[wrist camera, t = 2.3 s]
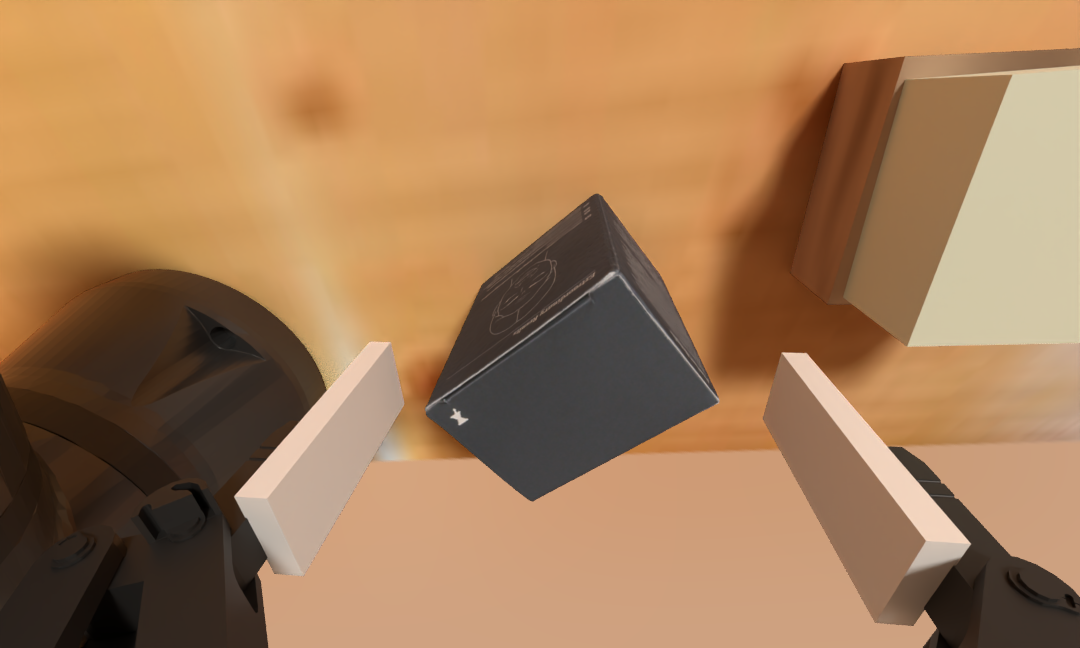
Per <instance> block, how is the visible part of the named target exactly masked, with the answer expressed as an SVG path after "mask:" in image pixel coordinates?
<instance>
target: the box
mask: <svg viewBox="0 0 1080 648" xmlns="http://www.w3.org/2000/svg"><path fill="white" fill-rule="evenodd" d="M718 403H719V398H718V396H717V393H716V391H715V389H714V387H713V385H712V383H711V381H710V379H709V377H708V374H707V372H706V370H705V368H704V366H703V364H702V362H701V359H700V358H699V356H698V353H697V351H696V349H695V347H694V345H693V342H692V340H691V338H690V336H689V334H688V332H687V330H686V328H685V326H684V324H683V322H682V319H681V317H680V316H679V313H678V311H677V309H676V307H675V305H674V303H673V301H672V298H671V297H670V295H669V292H668V290H667V288H666V286H665V284H664V281H663V280H662V278H661V276H660V274H659V273H658V271H657V270H656V269H655V267H654V266H653V265H652V264H651V262H650V260H649V259H648V258H647V257H646V255H645V254H644V253H643V252H642V250H641V249H640V247H639V246H638V245H637V243H636V242H635V241H634V239H633V238H632V237H631V235H630V234H629V233H628V231H627V230H626V228H625V227H624V226H623V224H622V223H621V222H620V220H619V219H618V218H617V216H616V215H615V214H614V212H613V211H612V210H611V208H610V207H609V205H608V204H607V203H606V201H605V200H604V199H603V197H602V196H601V195H599V194H594V195H593V196H591V197H590V198H589V199H587V200H586V201H585V202H584V203H582V204H581V205H580V206H578V207H577V208H576V209H575V210H574V211H572V212H571V213H570V214H569V215H567V216H566V217H565V218H564V219H562V220H561V221H560V222H559V223H557V224H556V225H555V226H554V227H552V228H551V229H550V230H549V231H547V232H546V233H545V234H544V235H542V236H541V237H540V238H539V239H538V240H536V241H535V242H534V243H533V244H531V245H530V246H529V247H528V248H526V249H525V250H524V251H523V252H521V253H520V254H519V255H518V256H517V257H515V258H514V259H513V260H511V261H510V262H509V263H508V264H507V265H505V266H504V267H503V268H502V269H501V270H499V271H498V272H497V273H495V274H494V275H493V276H492V277H491V278H489V279H488V280H487V281H486V282H485V283H483V284H482V286H481V288H480V291H479V292H478V295H477V297H476V299H475V301H474V304H473V306H472V308H471V310H470V312H469V314H468V316H467V319H466V321H465V323H464V325H463V327H462V330H461V332H460V334H459V336H458V338H457V340H456V342H455V345H454V347H453V349H452V351H451V353H450V355H449V358H448V360H447V362H446V364H445V366H444V369H443V371H442V373H441V375H440V377H439V379H438V381H437V384H436V386H435V388H434V390H433V393H432V395H431V398H430V400H429V402H428V404H427V406H426V407H425V411H426V415H427V417H429V418H430V419H431V420H433V421H434V422H435V423H437V424H438V425H439V426H441V427H442V428H443V429H444V430H446V431H447V432H448V433H449V434H450V435H451V436H453V437H454V438H455V439H456V440H457V441H459V442H460V443H461V444H462V445H463V446H464V447H466V448H467V449H468V450H469V451H470V452H471V453H472V454H474V455H475V456H476V457H477V458H478V459H479V460H480V461H482V462H483V463H484V464H485V465H486V466H488V467H489V468H490V469H491V470H492V471H493V472H495V473H496V474H497V475H498V476H499V477H501V478H502V479H503V480H504V481H505V482H507V483H508V484H509V485H510V486H512V487H513V488H514V489H515V490H516V491H518V492H519V493H520V494H522V495H523V496H524V497H526V498H527V499H529V500H530V501H534V500H536V499H538V498H540V497H541V496H543V495H545V494H547V493H549V492H551V491H553V490H555V489H556V488H558V487H560V486H562V485H564V484H566V483H568V482H570V481H571V480H574V479H575V478H577V477H579V476H581V475H583V474H585V473H587V472H589V471H590V470H592V469H594V468H596V467H598V466H600V465H602V464H604V463H606V462H608V461H609V460H611V459H613V458H615V457H617V456H619V455H621V454H623V453H625V452H626V451H628V450H630V449H632V448H634V447H636V446H637V445H639V444H641V443H643V442H645V441H647V440H649V439H651V438H653V437H655V436H657V435H658V434H660V433H662V432H664V431H666V430H667V429H669V428H671V427H673V426H675V425H677V424H679V423H681V422H683V421H685V420H687V419H688V418H690V417H692V416H694V415H696V414H698V413H700V412H702V411H704V410H706V409H708V408H710V407H712V406H714V405H716V404H718Z"/></svg>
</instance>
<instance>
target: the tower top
mask: <svg viewBox="0 0 1080 648" xmlns="http://www.w3.org/2000/svg"><path fill="white" fill-rule="evenodd" d="M843 298H845V299H846V300H847V301H848V302H850V303H851V304H852V305H854V306H855V307H856V308H858V309H859V310H860V311H861V312H863V313H864V314H865V315H867V316H868V317H869V318H871V319H872V320H873V321H874V322H876V323H877V324H878V325H880V326H881V327H882V328H884V329H885V330H886V331H888V332H889V333H890V334H891V335H893V336H894V337H895V338H897V339H898V340H899V341H901V342H902V343H903V344H904V345H906V346H907V347H911V346H961V345H1012V344H1063V343H1080V65H1079V66H1066V67H1054V68H1042V69H1029V70H1017V71H1005V72H992V73H980V74H967V75H955V76H943V77H930V78H918V79H905V82H904V86H903V89H902V93H901V96H900V100H899V103H898V107H897V110H896V114H895V117H894V121H893V124H892V128H891V131H890V135H889V138H888V142H887V145H886V149H885V152H884V156H883V159H882V163H881V166H880V170H879V173H878V177H877V180H876V184H875V187H874V191H873V194H872V198H871V201H870V205H869V208H868V212H867V215H866V219H865V222H864V226H863V229H862V233H861V236H860V240H859V243H858V247H857V250H856V254H855V257H854V261H853V264H852V267H851V271H850V274H849V278H848V281H847V285H846V288H845V292H844V295H843Z"/></svg>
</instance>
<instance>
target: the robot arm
mask: <svg viewBox="0 0 1080 648" xmlns="http://www.w3.org/2000/svg"><path fill="white" fill-rule="evenodd" d="M403 406H404V400H403V395H402V391H401V386H400V382H399V377H398V373H397V368H396V364H395V359H394V355H393V350H392V346H391V342H369V343H368V344H367V346H366V347H365V348H364V349H363V350H362V351H361V352H360V353H359V355H358V356H357V357H356V358H355V359H354V360H353V361H352V363H351V364H350V365H349V366H348V367H347V368H346V369H345V371H344V372H343V373H342V374H341V375H340V376H339V377H338V379H337V380H336V381H335V382H334V383H333V384H332V385H331V387H330V388H329V389H328V390H327V391H326V389H325V386H324V382H323V380H322V377H321V374H320V372H319V370H318V368H317V366H316V364H315V362H314V360H313V359H312V357H311V356H310V354H309V353H308V351H307V350H306V348H305V347H304V346H303V344H302V343H301V342H300V341H299V339H298V338H297V337H296V336H295V335H294V334H293V333H292V332H291V330H290V329H289V328H288V327H287V326H286V325H285V324H283V323H282V322H281V321H280V320H279V319H278V318H277V317H276V316H274V315H273V314H272V313H271V312H269V311H268V310H267V309H266V308H264V307H263V306H261V305H260V304H259V303H257V302H255V301H254V300H252V299H251V298H249V297H248V296H246V295H244V294H242V293H241V292H239V291H237V290H235V289H233V288H231V287H229V286H226V285H224V284H222V283H220V282H217V281H214V280H212V279H209V278H206V277H203V276H199V275H196V274H192V273H187V272H182V271H175V270H162V269H156V270H143V271H138V272H133V273H130V274H126V275H124V276H121V277H119V278H116V279H114V280H111V281H109V282H106V283H104V284H101V285H99V286H96V287H94V288H92V289H89V290H87V291H85V292H84V293H82V294H80V295H78V296H77V297H75V298H74V299H72V300H71V301H70V302H68V303H67V304H66V305H65V306H64V307H63V308H62V309H61V310H59V311H58V312H57V313H56V314H55V315H54V316H53V317H51V318H50V319H49V320H48V321H47V322H46V323H45V324H44V325H43V326H41V327H40V328H39V329H38V330H37V331H36V332H35V333H34V334H33V335H31V336H30V337H29V338H28V339H27V340H26V341H25V342H24V343H22V344H21V345H20V346H19V347H18V348H17V349H16V350H15V351H14V352H12V353H11V354H10V355H9V356H8V357H7V358H6V359H5V360H3V361H2V362H1V363H0V648H268V641H267V632H266V624H265V614H264V607H263V597H262V589H261V581H260V579H259V577H258V575H257V572H258V571H259V569H260V568H261V567H262V565H263V564H264V562H265V560H266V559H267V560H268V562H269V564H270V566H271V568H272V570H273V572H274V574H285V575H297V576H304V575H305V573H306V571H307V570H308V568H309V566H310V565H311V563H312V561H313V559H314V558H315V556H316V554H317V553H318V551H319V549H320V547H321V546H322V544H323V542H324V541H325V539H326V537H327V535H328V534H329V532H330V530H331V529H332V527H333V525H334V524H335V522H336V520H337V518H338V517H339V515H340V513H341V511H342V509H343V508H344V507H345V505H346V503H347V501H348V500H349V498H350V496H351V495H352V493H353V491H354V489H355V488H356V486H357V484H358V482H359V481H360V479H361V478H362V475H363V474H364V472H365V471H366V469H367V467H368V466H369V464H370V462H371V460H372V459H373V457H374V455H375V454H376V452H377V450H378V449H379V447H380V445H381V443H382V442H383V440H384V438H385V437H386V435H387V433H388V431H389V430H390V428H391V426H392V425H393V423H394V421H395V420H396V418H397V416H398V414H399V413H400V411H401V409H402V408H403ZM763 420H764V422H765V424H766V426H767V428H768V429H769V431H770V433H771V435H772V437H773V438H774V440H775V442H776V444H777V446H778V448H779V449H780V451H781V453H782V455H783V456H784V458H785V460H786V462H787V464H788V466H789V467H790V469H791V471H792V473H793V475H794V477H795V478H796V480H797V482H798V484H799V485H800V487H801V489H802V491H803V493H804V495H805V496H806V498H807V500H808V502H809V504H810V506H811V507H812V509H813V511H814V513H815V515H816V516H817V518H818V520H819V522H820V524H821V525H822V527H823V529H824V531H825V533H826V535H827V536H828V538H829V540H830V542H831V544H832V545H833V547H834V549H835V551H836V553H837V555H838V556H839V558H840V560H841V562H842V563H843V565H844V567H845V569H846V571H847V572H848V575H849V576H850V578H851V580H852V582H853V583H854V585H855V587H856V589H857V591H858V593H859V594H860V596H861V598H862V600H863V601H864V604H865V605H866V607H867V609H868V611H869V612H870V614H871V616H872V618H873V620H874V622H875V623H884V624H896V625H908V626H913V625H914V624H915V623H916V621H917V620H918V618H919V617H920V615H921V614H922V612H923V611H924V610H926V612H927V613H928V615H929V616H930V618H931V619H932V621H933V622H934V624H935V625H936V627H937V629H936V631H935V632H934V633H933V635H932V636H931V637H930V639H929V640H928V641H927V642H926V644H925V645H924V646H923V648H1080V597H1079V596H1078V595H1077V594H1076V592H1075V591H1074V590H1073V589H1072V588H1071V587H1069V586H1068V585H1067V584H1066V583H1064V582H1063V581H1062V580H1061V579H1059V578H1057V576H1055V575H1054V574H1052V573H1050V572H1048V571H1047V570H1045V569H1043V568H1041V567H1040V566H1038V565H1036V564H1033V563H1031V562H1028V561H1026V560H1023V559H1020V558H1018V557H1012V556H1010V554H1008V552H1007V551H1006V550H1005V549H1004V548H1003V547H1002V546H1001V545H1000V544H999V543H998V542H997V540H995V538H994V537H993V536H992V535H991V534H990V533H989V532H988V531H987V530H986V529H985V528H984V526H983V525H982V524H981V523H980V522H979V521H978V520H977V519H976V518H975V517H974V516H973V515H972V514H971V513H970V511H969V510H968V509H967V508H966V507H965V506H964V505H963V504H962V503H961V502H960V501H959V499H955V498H954V494H953V493H952V492H951V491H950V490H949V489H948V488H947V487H946V485H945V484H941V482H940V479H939V478H938V477H937V476H936V475H935V474H934V473H933V471H932V470H931V469H930V468H929V467H928V466H927V465H926V464H925V463H924V462H922V461H921V460H920V459H918V458H917V457H915V456H914V455H912V454H911V453H910V452H908V451H907V450H905V449H904V448H902V447H887V446H886V445H885V444H884V442H883V441H882V440H881V439H880V438H879V437H878V435H877V434H876V433H875V432H874V431H873V430H872V428H871V427H870V426H869V425H868V424H867V423H866V422H865V420H864V419H863V418H862V417H861V416H860V415H859V413H858V412H857V411H856V410H855V409H854V408H853V406H852V405H851V404H850V403H849V402H848V401H847V400H846V398H845V397H844V396H843V395H842V394H841V393H840V391H839V390H838V389H837V388H836V387H835V386H834V384H833V383H832V382H831V381H830V380H829V379H828V377H827V376H826V375H825V374H824V373H823V372H822V371H821V369H820V368H819V367H818V366H817V365H816V364H815V362H814V361H813V360H812V359H811V358H810V357H809V355H808V354H807V353H781V356H780V360H779V363H778V367H777V370H776V374H775V377H774V381H773V384H772V388H771V391H770V395H769V398H768V402H767V405H766V409H765V412H764V416H763Z"/></svg>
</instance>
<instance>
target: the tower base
mask: <svg viewBox="0 0 1080 648" xmlns="http://www.w3.org/2000/svg"><path fill="white" fill-rule="evenodd" d="M1079 65H1080V48H1077V49H1056V50H1035V51H1013V52H992V53H971V54H949V55H928V56H907V57H897V58H888V59H880V60H871V61H863V62H854V63H845V64H844V65H843V69H842V73H841V77H840V81H839V85H838V89H837V92H836V96H835V100H834V104H833V108H832V112H831V116H830V120H829V124H828V127H827V131H826V135H825V139H824V143H823V147H822V151H821V155H820V159H819V162H818V166H817V170H816V174H815V178H814V182H813V186H812V190H811V194H810V198H809V201H808V205H807V209H806V213H805V217H804V221H803V225H802V229H801V233H800V236H799V240H798V244H797V248H796V252H795V256H794V260H793V264H792V268H791V271H790V273H791V274H792V275H793V276H794V277H795V278H797V279H798V280H799V281H800V282H801V283H802V284H804V285H805V286H806V287H807V288H808V289H810V290H811V291H812V292H813V293H814V294H815V295H817V296H818V297H819V298H820V299H821V300H823V301H824V302H825V303H826V304H827V305H852V304H851V303H850V302H848V301H847V300H846V299H845V298H843V295H844V292H845V288H846V285H847V281H848V278H849V274H850V271H851V267H852V264H853V261H854V257H855V254H856V250H857V247H858V243H859V240H860V236H861V233H862V229H863V226H864V222H865V219H866V215H867V212H868V208H869V205H870V201H871V198H872V194H873V191H874V187H875V184H876V180H877V177H878V173H879V170H880V166H881V163H882V159H883V156H884V152H885V149H886V145H887V142H888V138H889V135H890V131H891V128H892V124H893V121H894V117H895V114H896V110H897V107H898V103H899V100H900V96H901V93H902V89H903V86H904V82H905V79H918V78H930V77H943V76H955V75H967V74H980V73H992V72H1005V71H1017V70H1029V69H1042V68H1054V67H1066V66H1079Z"/></svg>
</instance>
